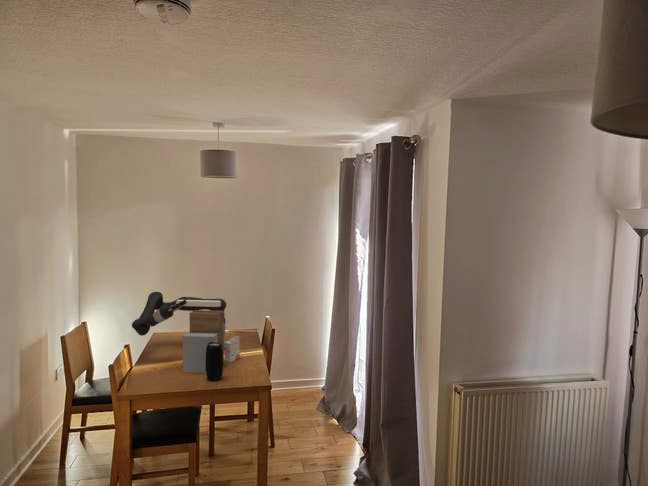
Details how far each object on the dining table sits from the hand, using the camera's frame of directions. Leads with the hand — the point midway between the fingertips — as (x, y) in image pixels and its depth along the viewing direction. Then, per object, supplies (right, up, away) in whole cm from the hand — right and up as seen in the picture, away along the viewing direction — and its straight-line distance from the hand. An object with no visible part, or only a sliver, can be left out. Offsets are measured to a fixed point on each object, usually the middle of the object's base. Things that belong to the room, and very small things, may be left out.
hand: (187, 300), depth 257 cm
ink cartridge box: (+24, -38, +11) cm, 47 cm away
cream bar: (+7, -3, 0) cm, 8 cm away
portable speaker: (+22, -40, -21) cm, 50 cm away
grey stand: (+11, -39, -9) cm, 42 cm away
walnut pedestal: (+12, -39, +1) cm, 40 cm away
